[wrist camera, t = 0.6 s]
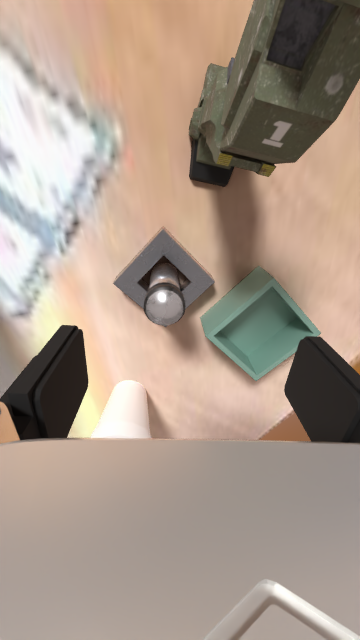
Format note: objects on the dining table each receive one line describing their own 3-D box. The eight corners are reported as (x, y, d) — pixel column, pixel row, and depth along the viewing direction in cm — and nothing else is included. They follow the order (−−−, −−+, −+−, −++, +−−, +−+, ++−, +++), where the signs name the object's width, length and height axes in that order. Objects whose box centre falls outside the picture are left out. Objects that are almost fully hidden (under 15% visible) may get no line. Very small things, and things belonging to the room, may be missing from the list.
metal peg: (164, 296, 40) (165, 335, 29) (142, 276, 38) (134, 309, 28) (186, 275, 39) (194, 308, 28) (163, 254, 37) (163, 280, 26)
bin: (245, 358, 46) (256, 381, 41) (200, 317, 42) (205, 336, 37) (301, 315, 43) (321, 333, 37) (258, 265, 39) (273, 277, 33)
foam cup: (159, 377, 47) (157, 439, 35) (150, 414, 51) (146, 479, 39) (106, 370, 46) (86, 431, 34) (101, 408, 50) (82, 474, 38)
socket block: (165, 318, 42) (165, 327, 39) (116, 276, 38) (113, 283, 35) (211, 275, 39) (214, 281, 36) (163, 226, 35) (163, 229, 33)
